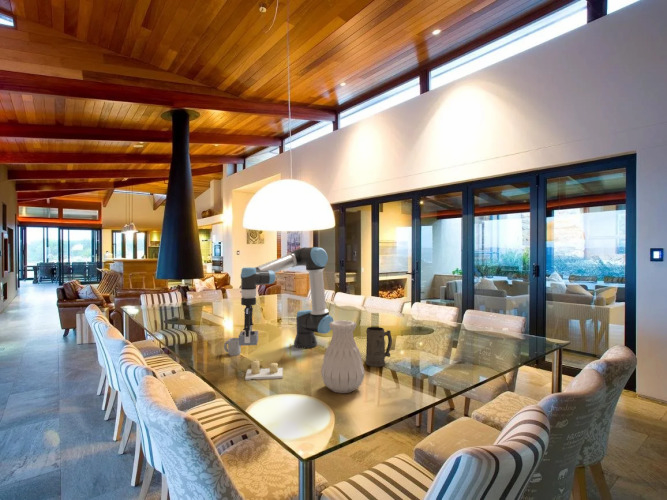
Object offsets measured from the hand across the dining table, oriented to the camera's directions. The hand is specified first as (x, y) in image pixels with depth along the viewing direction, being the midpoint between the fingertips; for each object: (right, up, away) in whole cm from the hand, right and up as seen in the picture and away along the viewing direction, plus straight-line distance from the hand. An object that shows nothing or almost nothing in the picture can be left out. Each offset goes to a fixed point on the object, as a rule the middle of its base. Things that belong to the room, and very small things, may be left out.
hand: (248, 340), depth 187 cm
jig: (+10, -16, -6) cm, 20 cm away
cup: (-17, -16, +29) cm, 37 cm away
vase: (+49, -16, -24) cm, 57 cm away
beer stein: (+70, -16, +12) cm, 73 cm away
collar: (0, -1, 0) cm, 1 cm away
